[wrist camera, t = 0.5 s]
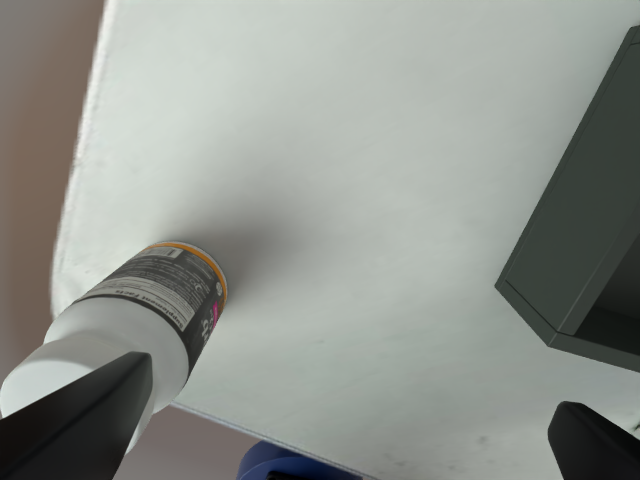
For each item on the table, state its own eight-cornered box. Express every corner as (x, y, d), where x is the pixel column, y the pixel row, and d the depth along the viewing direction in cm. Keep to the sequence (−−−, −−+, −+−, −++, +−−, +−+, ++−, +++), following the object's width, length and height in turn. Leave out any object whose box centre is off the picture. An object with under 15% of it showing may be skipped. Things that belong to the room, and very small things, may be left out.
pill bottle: (205, 340, 23) (120, 502, 14) (117, 296, 22) (-38, 438, 13) (247, 268, 21) (183, 399, 12) (154, 218, 20) (5, 316, 11)
